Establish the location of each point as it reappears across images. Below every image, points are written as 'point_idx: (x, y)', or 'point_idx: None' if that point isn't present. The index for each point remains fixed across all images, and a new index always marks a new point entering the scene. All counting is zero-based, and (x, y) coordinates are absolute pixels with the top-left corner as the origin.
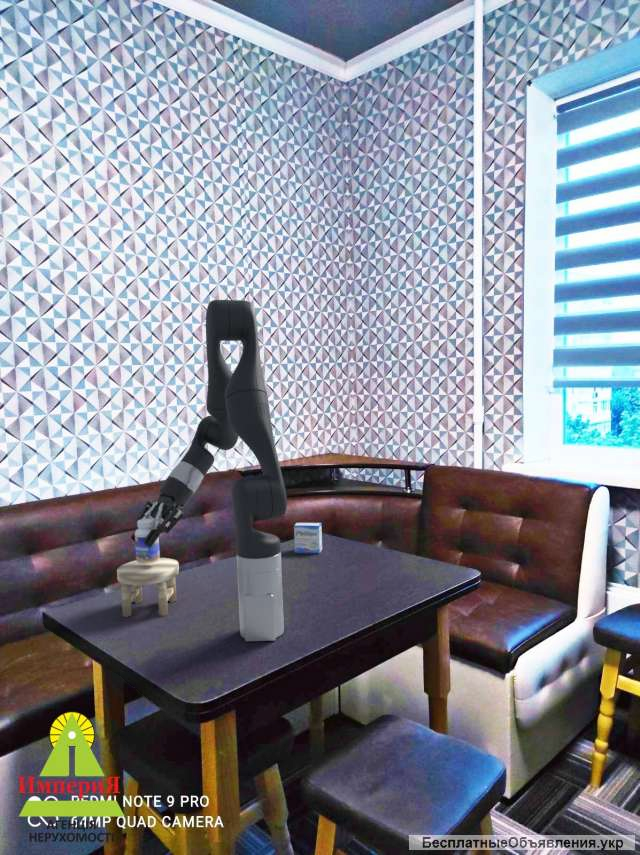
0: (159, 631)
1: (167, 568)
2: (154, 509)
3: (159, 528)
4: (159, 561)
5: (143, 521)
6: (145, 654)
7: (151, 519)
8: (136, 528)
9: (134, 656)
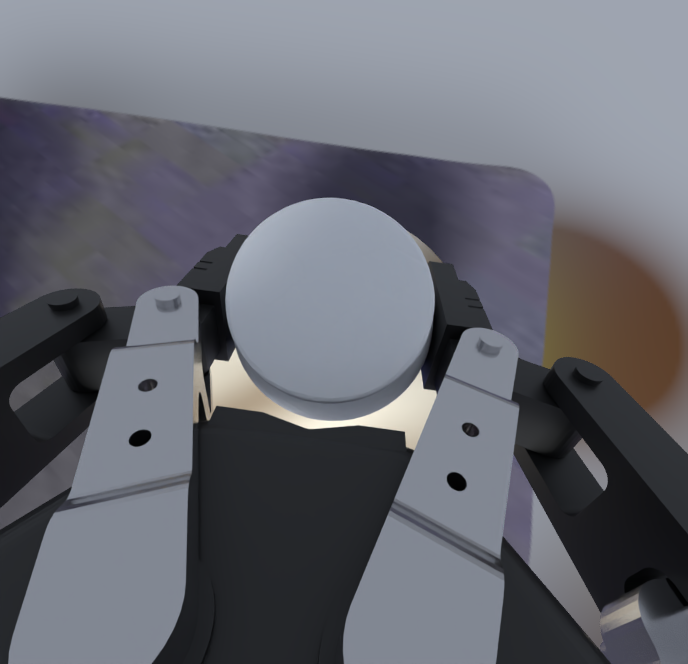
0: (176, 260)
1: (230, 372)
2: (386, 511)
3: (122, 314)
4: (353, 424)
5: (305, 238)
6: (103, 161)
7: (303, 358)
8: (467, 305)
9: (119, 142)
